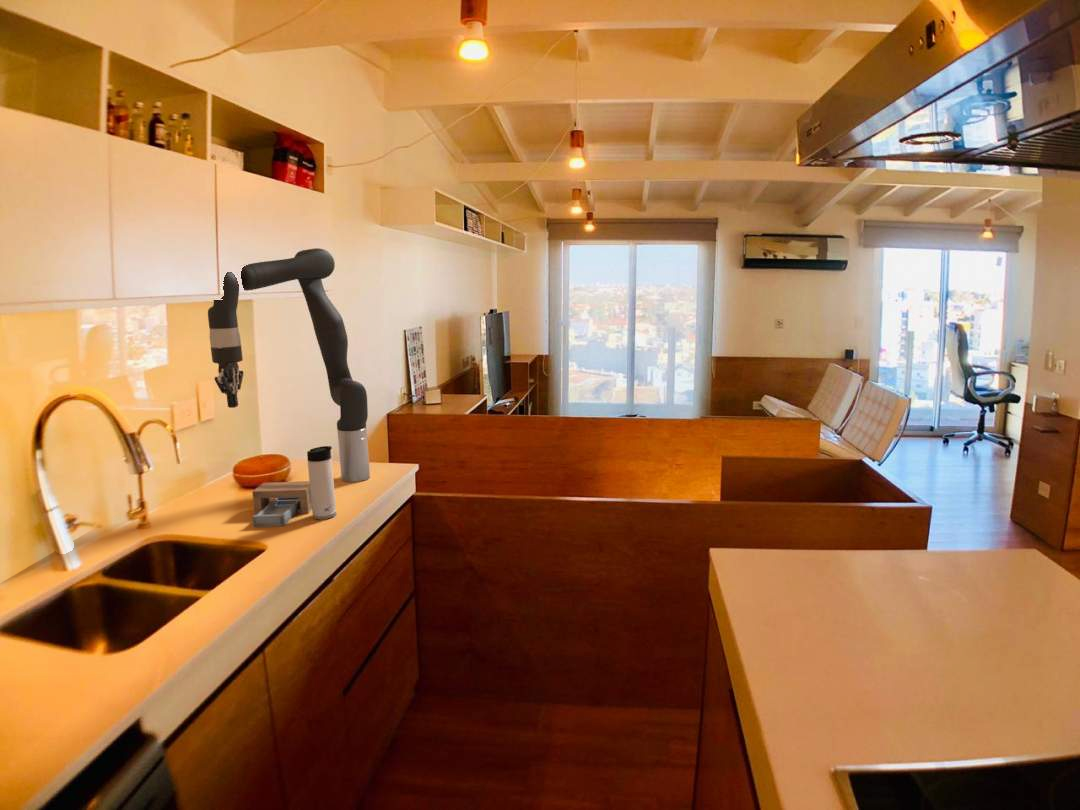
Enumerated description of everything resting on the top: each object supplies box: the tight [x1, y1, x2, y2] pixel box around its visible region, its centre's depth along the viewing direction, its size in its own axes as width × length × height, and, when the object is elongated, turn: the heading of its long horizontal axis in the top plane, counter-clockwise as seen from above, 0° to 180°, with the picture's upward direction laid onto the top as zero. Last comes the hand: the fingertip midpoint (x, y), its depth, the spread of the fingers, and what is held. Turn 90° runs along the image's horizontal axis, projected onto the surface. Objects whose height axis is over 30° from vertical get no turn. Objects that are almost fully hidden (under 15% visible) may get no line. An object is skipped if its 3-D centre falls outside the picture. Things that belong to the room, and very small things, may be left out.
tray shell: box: [252, 498, 301, 528], centre depth 178 cm, size 16×8×3 cm, turn 2°
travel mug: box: [306, 445, 337, 520], centre depth 175 cm, size 6×7×20 cm
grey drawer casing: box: [252, 480, 312, 515], centre depth 183 cm, size 8×15×7 cm, turn 92°
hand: (233, 407), depth 175 cm, fingers closed
